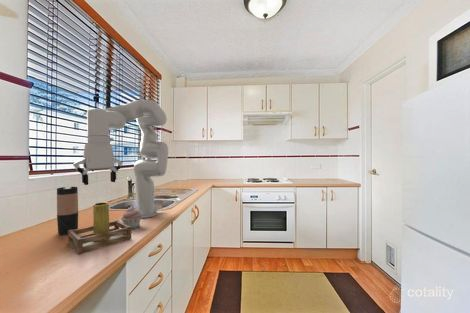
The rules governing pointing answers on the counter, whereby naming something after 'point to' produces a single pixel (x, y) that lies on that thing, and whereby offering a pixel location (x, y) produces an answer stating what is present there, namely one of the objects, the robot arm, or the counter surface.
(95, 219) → the vase
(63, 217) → the travel mug
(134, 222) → the cupcake
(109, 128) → the robot arm
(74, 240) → the tray
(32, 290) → the counter surface
